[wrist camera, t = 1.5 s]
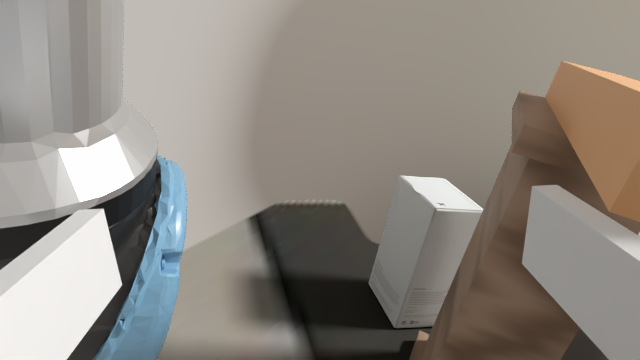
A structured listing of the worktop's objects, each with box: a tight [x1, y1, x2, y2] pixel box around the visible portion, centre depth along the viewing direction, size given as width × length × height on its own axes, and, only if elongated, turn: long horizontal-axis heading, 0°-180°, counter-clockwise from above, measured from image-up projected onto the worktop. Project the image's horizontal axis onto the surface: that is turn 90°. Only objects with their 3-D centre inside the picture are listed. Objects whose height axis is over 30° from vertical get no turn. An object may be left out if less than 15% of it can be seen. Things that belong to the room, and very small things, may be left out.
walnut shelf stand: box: [409, 91, 640, 360], centre depth 32 cm, size 8×16×28 cm, turn 155°
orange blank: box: [545, 61, 640, 222], centre depth 21 cm, size 4×26×3 cm, turn 155°
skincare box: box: [369, 176, 483, 328], centre depth 48 cm, size 8×7×16 cm
